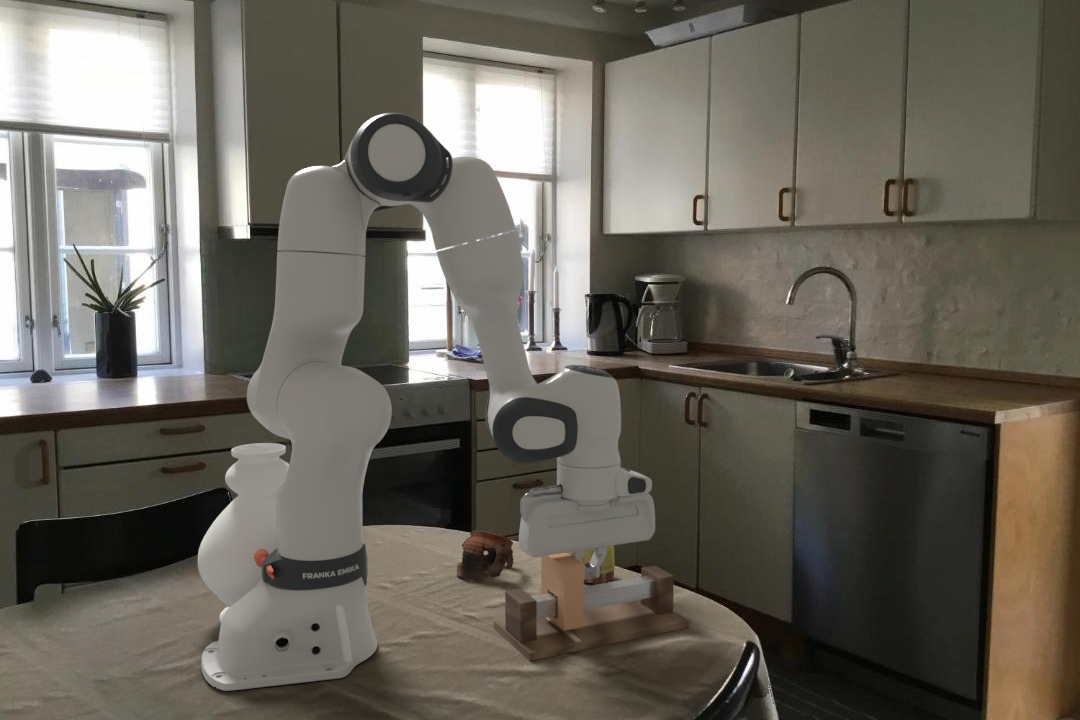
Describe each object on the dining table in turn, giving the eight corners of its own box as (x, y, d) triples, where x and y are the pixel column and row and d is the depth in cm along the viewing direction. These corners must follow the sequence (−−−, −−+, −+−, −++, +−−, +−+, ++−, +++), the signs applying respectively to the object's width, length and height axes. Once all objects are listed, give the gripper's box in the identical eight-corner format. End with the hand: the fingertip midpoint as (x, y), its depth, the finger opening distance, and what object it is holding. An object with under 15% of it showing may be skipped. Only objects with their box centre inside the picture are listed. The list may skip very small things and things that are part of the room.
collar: (563, 630, 126) (564, 566, 125) (541, 612, 132) (541, 551, 131) (583, 626, 128) (583, 563, 126) (560, 609, 134) (560, 548, 133)
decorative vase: (281, 647, 126) (274, 466, 123) (173, 630, 131) (164, 456, 128) (349, 601, 142) (345, 440, 139) (250, 587, 148) (244, 433, 145)
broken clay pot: (442, 575, 155) (456, 527, 158) (489, 591, 160) (502, 544, 162) (477, 577, 145) (491, 526, 148) (526, 594, 150) (539, 544, 152)
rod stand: (529, 660, 121) (529, 613, 121) (493, 627, 132) (493, 583, 131) (688, 627, 132) (689, 583, 132) (643, 599, 143) (644, 558, 142)
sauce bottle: (614, 573, 155) (615, 455, 152) (614, 586, 148) (615, 464, 146) (575, 571, 155) (575, 455, 153) (573, 585, 149) (573, 463, 147)
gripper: (530, 495, 122) (530, 596, 124) (662, 479, 131) (660, 574, 133) (511, 484, 128) (511, 581, 129) (638, 469, 137) (636, 560, 138)
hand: (587, 577), depth 131 cm, fingers closed
